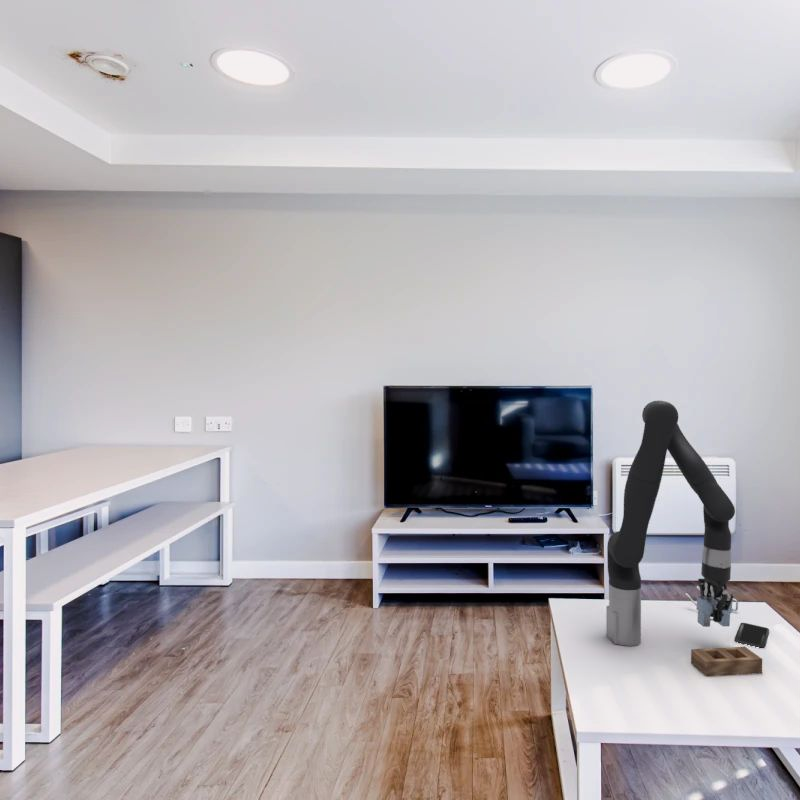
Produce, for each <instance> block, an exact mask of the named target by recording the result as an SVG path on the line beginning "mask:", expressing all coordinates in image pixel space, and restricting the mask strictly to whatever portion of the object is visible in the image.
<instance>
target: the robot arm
mask: <svg viewBox="0 0 800 800" xmlns="http://www.w3.org/2000/svg"><path fill="white" fill-rule="evenodd" d="M641 415H642V416H641V417H642V421H643V423H644V425H643V426H644V428H643V433H642V438H641V443H640V445H639V448H638V450H637V453H636V454H635V456H634V459H633V461H632V463H631V465H630V468H629V470H628V474H627V478H626V481H625V485H624V486H625V487H624V493H623V515H622V522H621V526H620V529H619V531H615V532H614V533H612V534H611V535H610V537H609V538H608V541H607V553H606V554H607V574H608V605H606V614H605V616H606V617H605V618H606V620H605V621H606V622H605V623H606V625H605V627H606V631H605V633H606V637H607V638H608V639H609V640H610V642H612V643H613V644H614V645H620V646H625V647H626V646H627V647H628V646H629V647H634V646H635V647H636V646H638V645H640V644H641V641H642V578H641V574H640V565H639V564H640V563H641V562H642V560H643V558H644V553H645V548H646V547H645V546H646V540H647V534H648V533H647V532H648V527H649V523H650V520H651V517H652V514H653V510H654V508H655V504H656V501H657V496H658V493H659V491H660V486H661V483H662V478H663V475H664V469H665V464H666V456H667V452H668V453H669V454H670V455H671V457H672V459H673V460H674V462H675V464H676V466H677V467H678V469H679V471H680V472H681V474H682V476H683V478H685V481H686V482H687V483H688V485H689V486H690V488H691V489H692V490H693V491H694V493H695V494H696V495H697V497H698V498H699V501H701V503H702V504H703V511H702V512H703V522H704V523H703V524H704V533H703V534H704V535H703V548H702V555H701V572H700V573H701V576H702V578H698V579H697V581H698V587H699V588H700V591H699V592H700V596H712V601H713V602H714V612H713V613H711V615H710V618H713V620H712V621H713V622H714V623H717V622H721V621H722V611H723V610H728V609H729V607H730V604H731V602H732V603H733V600H732V599H733V598H734V595H733V594H732V593H729V592H728V588H727V582H729V581H730V580H731V570H732V552H731V551H732V550H731V549H732V533H731V530H730V526H729V524H730V523H729V521H731V520H732V519H733V518H734V516H735V514H736V509H735V505H734V503H733V502H732V500H731V499H730V498H729V496H728V495H727V493H726V492H725V491H724V490H723V488H722V487H721V486H720V485H719V483H718V482H717V480H716V478H715V476H714V474H713V473H712V472H711V470H710V468H709V466H708V465H707V464H706V462H705V461H704V460H703V458H702V457H701V455H700V454H699V452H698V451H697V450H695V448H694V447H693V446H692V444H691V443H690V442H689V440H688V439H687V438H686V436H685V435H684V433H683V432H682V429H681V428H680V426H679V424H678V423H679V422H678V421H679V413H678V410H677V408H676V407H675V405H673V404H672V403H670V402H668V401H664V400H652V401H651V402H649V403H647V404H646V405H645V406H644V408H643V409H642V413H641ZM718 602H720V603H719V605H718ZM724 605H725V606H724Z"/></svg>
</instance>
